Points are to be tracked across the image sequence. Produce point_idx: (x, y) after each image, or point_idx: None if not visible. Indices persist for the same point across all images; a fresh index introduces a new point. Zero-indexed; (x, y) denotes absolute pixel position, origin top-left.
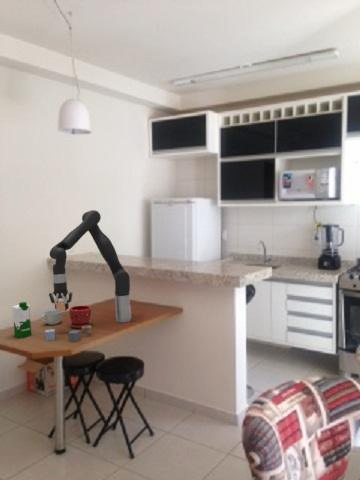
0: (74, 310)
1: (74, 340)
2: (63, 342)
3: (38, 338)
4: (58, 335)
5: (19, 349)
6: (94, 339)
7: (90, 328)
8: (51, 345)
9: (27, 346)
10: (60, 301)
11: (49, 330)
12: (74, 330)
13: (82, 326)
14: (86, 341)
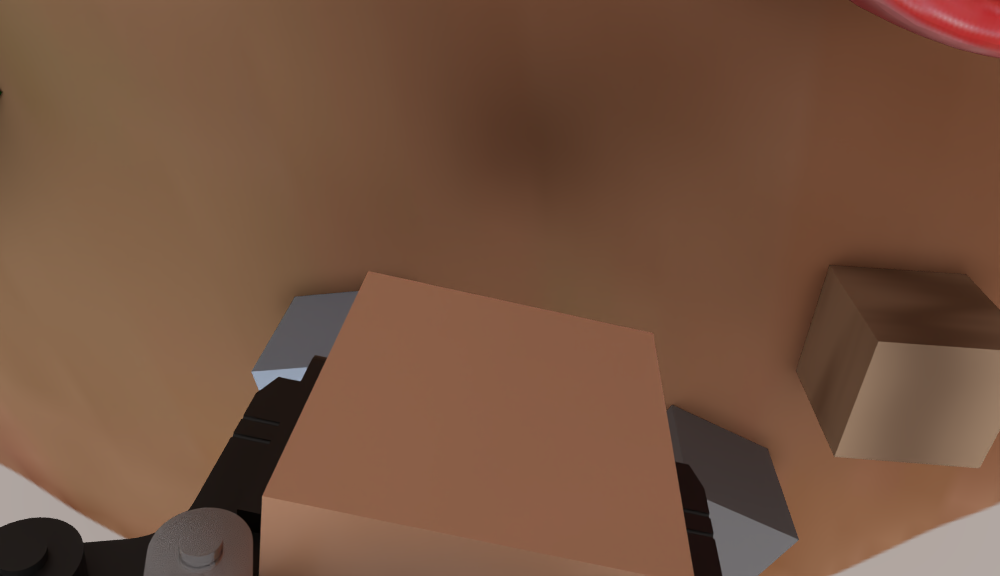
0: (894, 9)
1: None
2: None
3: (188, 276)
4: (451, 225)
5: None
6: (924, 498)
7: (971, 459)
8: None
9: (172, 494)
10: (371, 556)
11: None
12: (709, 509)
13: (867, 368)
14: (815, 528)
